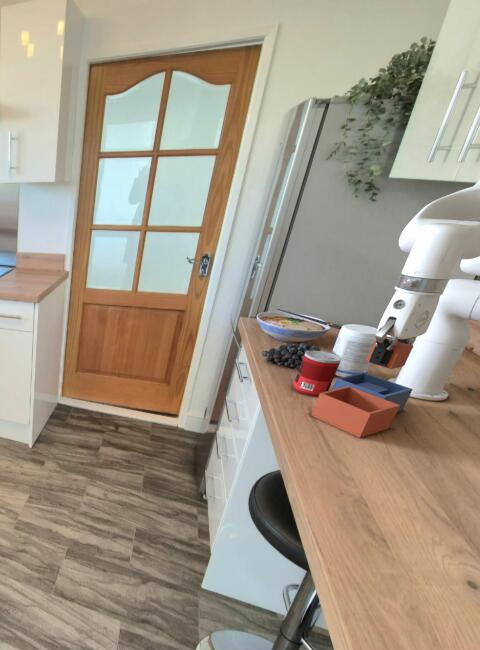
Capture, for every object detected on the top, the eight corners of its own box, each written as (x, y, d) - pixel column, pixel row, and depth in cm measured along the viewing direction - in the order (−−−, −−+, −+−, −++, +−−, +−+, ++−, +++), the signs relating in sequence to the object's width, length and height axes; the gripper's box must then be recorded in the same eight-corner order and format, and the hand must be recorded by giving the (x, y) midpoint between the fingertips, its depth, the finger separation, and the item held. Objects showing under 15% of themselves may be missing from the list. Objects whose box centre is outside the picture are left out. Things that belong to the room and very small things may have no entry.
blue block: (360, 397, 118) (367, 381, 115) (381, 406, 113) (389, 389, 111) (348, 401, 116) (355, 384, 114) (369, 409, 112) (377, 392, 110)
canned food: (332, 398, 119) (347, 362, 114) (300, 395, 120) (313, 359, 115) (318, 386, 125) (331, 351, 120) (287, 383, 127) (300, 349, 122)
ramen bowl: (234, 331, 169) (240, 311, 165) (281, 326, 174) (288, 306, 170) (291, 354, 147) (299, 332, 143) (343, 348, 152) (352, 326, 148)
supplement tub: (372, 378, 130) (393, 332, 123) (347, 381, 128) (367, 335, 121) (340, 366, 138) (358, 322, 132) (317, 368, 136) (334, 324, 130)
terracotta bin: (339, 407, 114) (348, 385, 111) (389, 428, 105) (400, 405, 102) (310, 415, 110) (319, 393, 108) (359, 437, 101) (370, 414, 98)
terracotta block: (378, 358, 102) (387, 338, 100) (404, 366, 98) (414, 345, 96) (365, 361, 101) (374, 341, 99) (390, 369, 96) (400, 348, 94)
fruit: (266, 336, 137) (325, 345, 129) (267, 337, 144) (323, 346, 135) (258, 362, 139) (315, 373, 130) (259, 362, 146) (314, 372, 137)
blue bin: (354, 392, 122) (363, 372, 119) (401, 411, 112) (412, 389, 109) (327, 399, 118) (336, 378, 115) (374, 419, 109) (385, 396, 106)
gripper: (419, 292, 85) (381, 374, 93) (466, 285, 91) (426, 363, 99) (375, 284, 92) (343, 362, 100) (422, 277, 97) (388, 352, 105)
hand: (385, 361), depth 99 cm, fingers closed on terracotta block, 5 cm apart
